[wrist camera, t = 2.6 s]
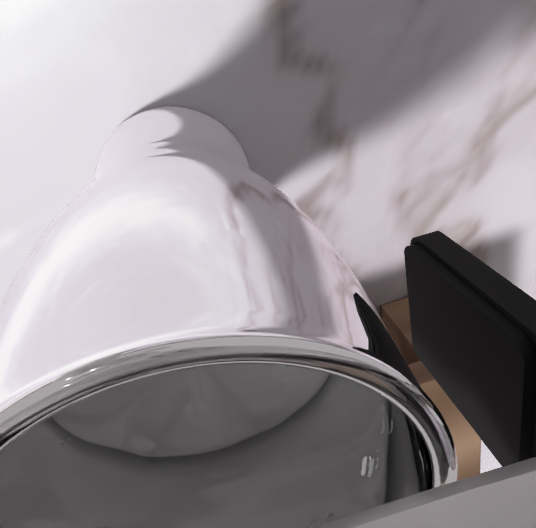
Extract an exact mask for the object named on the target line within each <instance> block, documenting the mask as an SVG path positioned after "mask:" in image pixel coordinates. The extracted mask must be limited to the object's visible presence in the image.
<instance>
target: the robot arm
mask: <svg viewBox="0 0 536 528" xmlns="http://www.w3.org/2000/svg"><path fill="white" fill-rule="evenodd" d="M404 255H405V266H406V278H407V289H408V300H409V312H410V323H411V334H412V344H413V348H414V350H415V353H416V355H417V356H418V358H419V359H420V361H421V362H422V363H423V365H424V366H425V367H426V368H427V370H428V371H429V372H430V374H431V375H432V376H433V377H434V379H435V380H436V381H437V383H438V384H439V385H440V387H441V388H442V389H443V390H444V392H445V393H446V394H447V396H448V397H449V398H450V399H451V401H452V402H453V403H454V405H455V406H456V407H457V409H458V410H459V411H460V412H461V414H462V415H463V416H464V418H465V419H466V420H467V421H468V423H469V424H470V425H471V427H472V428H473V429H474V431H475V432H476V433H477V434H478V436H479V437H480V438H481V440H482V441H483V442H484V443H485V445H486V446H487V447H488V449H489V450H490V451H491V453H492V454H493V455H494V456H495V458H496V459H497V460H498V462H499V463H500V464H501V465H502V467H501V468H498V469H494V470H491V471H488V472H484V473H481V474H478V475H475V476H471V477H468V478H465V479H461V480H458V481H455V482H452V483H448V484H445V485H442V486H439V487H435V488H432V489H429V490H426V491H423V492H420V493H417V494H414V495H411V496H408V497H405V498H402V499H398V500H395V501H392V502H389V503H386V504H383V505H380V506H377V507H374V508H371V509H368V510H365V511H362V512H358V513H355V514H352V515H349V516H346V517H343V518H340V519H337V520H334V521H331V522H328V523H325V524H321V525H318V526H315V527H312V528H536V300H535V299H533V298H532V297H530V296H529V295H528V294H526V293H525V292H523V291H522V290H521V289H519V288H518V287H517V286H515V285H514V284H512V283H511V282H510V281H508V280H507V279H505V278H504V277H503V276H501V275H500V274H498V273H497V272H496V271H494V270H493V269H492V268H490V267H489V266H487V265H486V264H485V263H483V262H482V261H480V260H479V259H478V258H476V257H475V256H474V255H472V254H471V253H469V252H468V251H467V250H465V249H464V248H462V247H461V246H460V245H458V244H457V243H455V242H454V241H453V240H451V239H450V238H449V237H447V236H446V235H444V234H443V233H442V232H440V231H435V232H432V233H428V234H425V235H421V236H418V237H414V238H413V239H412V240H411V245H410V246H407V247H406V248H405V250H404Z"/></svg>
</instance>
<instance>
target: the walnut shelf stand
mask: <svg viewBox="0 0 536 528" xmlns="http://www.w3.org/2000/svg"><path fill="white" fill-rule="evenodd" d="M381 311H382V320H383V322H384V323H385V325H386V327H387V328H388V330H389V332H390V333H391V335H392V337H393V339H394V341H395V342H396V344H397V346H398V348H399V350H400V351H401V353H402V355H403V357H404V358H405V360H406V362H407V364H408V366H409V367H410V369H411V371H412V372H413V374H414V376H415V377H416V379H417V381H418V382H419V384H420V386H421V387H422V389H423V391H424V392H425V393H426V394H427V395H428V396H429V398H430V399H431V400H432V401H433V403H434V404H435V405H436V407H437V408H438V409H439V411H440V412H441V414H442V416H443V418H444V419H445V421H446V423H447V425H448V428H449V430H450V433H451V435H452V438H453V442H454V445H455V450H456V455H457V466H458V472H457V481H458V480H461V479H465V478H468V477H471V476H475V475H478V474H480V454H481V438H480V437H479V436H478V434H477V433H476V432H475V431H474V429H473V428H472V427H471V425H470V424H469V423H468V421H467V420H466V419H465V418H464V416H463V415H462V414H461V412H460V411H459V410H458V409H457V407H456V406H455V405H454V403H453V402H452V401H451V399H450V398H449V397H448V396H447V394H446V393H445V392H444V390H443V389H442V388H441V387H440V385H439V384H438V383H437V381H436V380H435V379H434V377H433V376H432V375H431V374H430V372H429V371H428V370H427V368H426V367H425V366H424V365H423V363H422V362H421V361H420V359H419V358H418V356H417V355H416V353H415V350H414V348H413V344H412V334H411V323H410V312H409V300H408V297H406V298H403V299H400V300H397V301H393V302H390V303H387V304H384V305H381Z"/></svg>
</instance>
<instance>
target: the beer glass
mask: <svg viewBox="0 0 536 528" xmlns="http://www.w3.org/2000/svg"><path fill="white" fill-rule="evenodd" d="M457 472H458V466H457V455H456V450H455V445H454V442H453V438H452V435H451V433H450V430H449V428H448V425H447V423H446V421H445V419H444V418H443V416H442V414H441V412H440V411H439V409H438V408H437V407H436V405H435V404H434V403H433V401H432V400H431V399H430V398H429V396H428V395H427V394H426V393H425V392H424V391H423V389H422V387H421V386H420V384H419V382H418V381H417V379H416V377H415V376H414V374H413V372H412V371H411V369H410V367H409V366H408V364H407V362H406V360H405V358H404V357H403V355H402V353H401V351H400V350H399V348H398V346H397V344H396V342H395V341H394V339H393V337H392V335H391V333H390V332H389V330H388V328H387V327H386V325H385V323H384V322H383V320H382V318H381V317H380V315H379V313H378V312H377V310H376V308H375V307H374V305H373V303H372V302H371V300H370V298H369V297H368V295H367V293H366V292H365V290H364V288H363V287H362V285H361V283H360V282H359V281H358V279H357V278H356V276H355V275H354V273H353V272H352V270H351V269H350V268H349V266H348V265H347V263H346V262H345V260H344V259H343V257H342V256H341V255H340V253H339V252H338V250H337V249H336V247H335V246H334V245H333V243H332V242H331V241H330V240H329V239H328V237H327V236H326V235H325V234H324V233H323V232H322V231H321V230H320V228H319V227H318V226H317V225H316V224H315V223H314V222H313V220H312V219H311V218H310V217H309V216H308V215H307V214H306V213H305V211H304V210H303V209H302V208H301V207H300V206H299V205H298V204H297V203H295V202H294V201H293V200H292V199H291V198H290V197H288V196H287V195H286V194H284V193H283V192H282V191H280V190H279V189H278V188H276V187H275V186H274V185H272V184H271V183H270V182H268V181H267V180H266V179H264V178H263V177H261V176H260V175H258V174H256V173H255V172H253V171H251V170H250V168H249V164H248V161H247V158H246V156H245V153H244V151H243V149H242V147H241V146H240V144H239V142H238V141H237V140H236V138H235V137H234V136H233V135H232V133H231V132H230V131H229V130H228V129H227V128H226V127H224V126H223V125H222V124H221V123H219V122H218V121H216V120H215V119H213V118H211V117H210V116H208V115H206V114H203V113H201V112H198V111H195V110H192V109H188V108H182V107H158V108H153V109H149V110H146V111H143V112H140V113H138V114H136V115H134V116H132V117H130V118H129V119H127V120H126V121H124V122H123V123H122V124H120V125H119V126H118V127H117V128H116V129H115V130H114V131H113V132H112V133H111V135H110V136H109V137H108V139H107V140H106V142H105V143H104V145H103V147H102V149H101V152H100V154H99V157H98V160H97V164H96V169H95V181H93V182H92V183H90V184H89V185H88V186H87V187H85V188H84V189H83V190H82V191H81V192H80V193H79V194H78V195H77V196H76V197H75V198H74V199H73V200H72V201H71V202H70V203H69V204H68V205H67V206H66V207H65V208H64V209H63V210H62V211H61V212H60V213H59V214H58V215H57V216H56V217H55V218H54V219H53V220H52V221H51V222H50V224H49V225H48V226H47V227H46V229H45V230H44V231H43V233H42V234H41V236H40V237H39V239H38V240H37V242H36V244H35V245H34V247H33V248H32V250H31V251H30V253H29V254H28V256H27V257H26V259H25V260H24V262H23V264H22V265H21V267H20V268H19V270H18V271H17V273H16V275H15V277H14V279H13V281H12V283H11V285H10V287H9V289H8V291H7V293H6V295H5V297H4V299H3V301H2V303H1V305H0V528H312V527H315V526H318V525H321V524H325V523H328V522H331V521H334V520H337V519H340V518H343V517H346V516H349V515H352V514H355V513H358V512H362V511H365V510H368V509H371V508H374V507H377V506H380V505H383V504H386V503H389V502H392V501H395V500H398V499H402V498H405V497H408V496H411V495H414V494H417V493H420V492H423V491H426V490H429V489H432V488H435V487H439V486H442V485H445V484H448V483H452V482H455V481H457Z"/></svg>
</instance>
